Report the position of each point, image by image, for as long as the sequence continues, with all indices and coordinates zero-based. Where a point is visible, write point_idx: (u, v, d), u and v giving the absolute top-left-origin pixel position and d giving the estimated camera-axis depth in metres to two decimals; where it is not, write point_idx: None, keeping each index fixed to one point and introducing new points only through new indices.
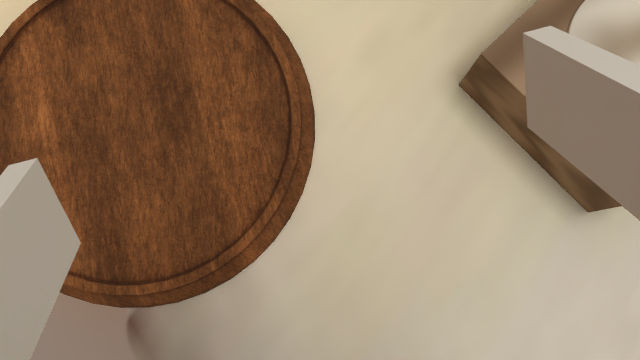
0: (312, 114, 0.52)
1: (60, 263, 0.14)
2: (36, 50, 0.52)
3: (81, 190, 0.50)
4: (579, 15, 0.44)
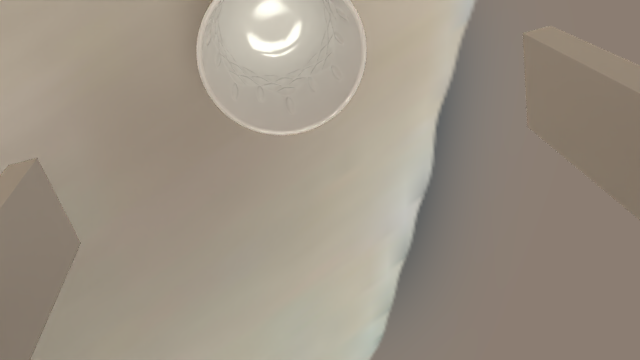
0: None
1: (60, 263, 0.14)
2: None
3: None
4: None
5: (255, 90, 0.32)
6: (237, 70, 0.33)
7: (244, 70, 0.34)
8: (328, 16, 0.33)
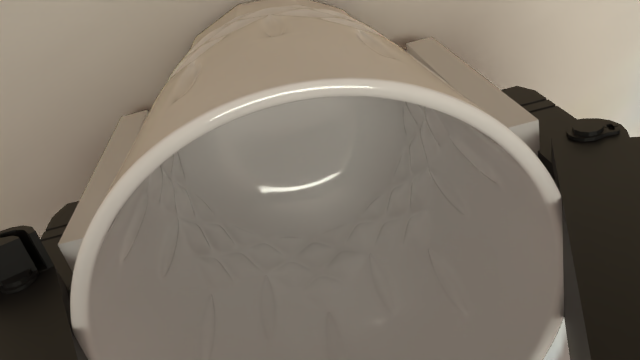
0: None
1: None
2: None
3: None
4: None
5: (257, 297, 0.14)
6: (218, 244, 0.15)
7: (234, 234, 0.16)
8: (413, 127, 0.15)
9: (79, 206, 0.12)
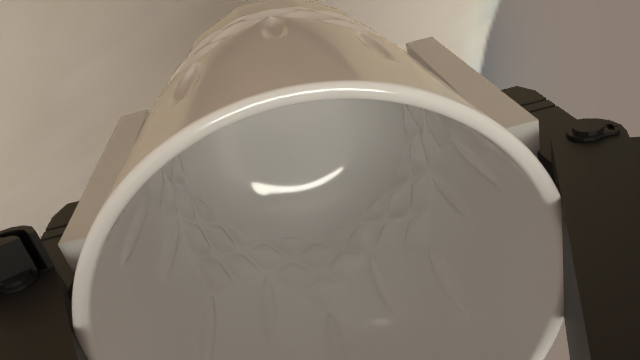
0: None
1: None
2: None
3: None
4: None
5: (257, 297, 0.14)
6: (218, 245, 0.15)
7: (234, 235, 0.16)
8: (414, 128, 0.15)
9: (79, 206, 0.12)
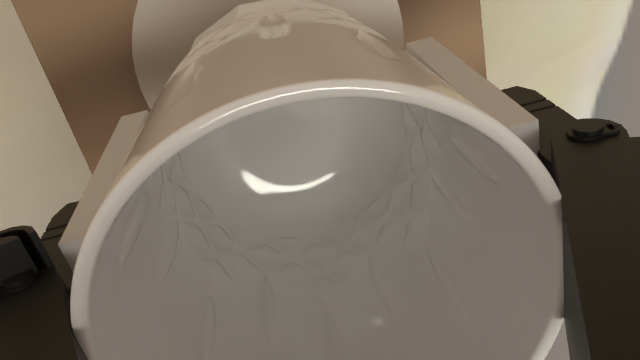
0: None
1: None
2: None
3: None
4: None
5: (257, 297, 0.14)
6: (218, 244, 0.15)
7: (234, 234, 0.16)
8: (414, 127, 0.15)
9: (80, 206, 0.12)
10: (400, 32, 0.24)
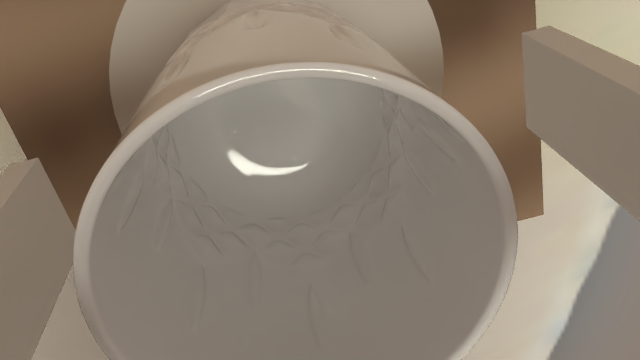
0: None
1: (61, 263, 0.14)
2: None
3: None
4: None
5: (245, 270, 0.16)
6: (209, 223, 0.16)
7: (225, 214, 0.17)
8: (390, 114, 0.16)
9: None
10: (439, 62, 0.19)
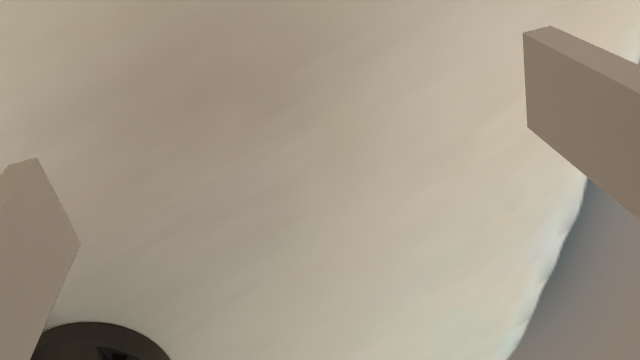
0: None
1: (60, 263, 0.14)
2: None
3: None
4: None
5: None
6: None
7: None
8: None
9: None
10: None
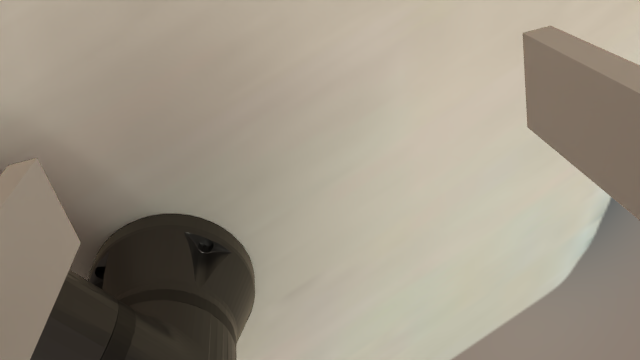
0: None
1: (60, 263, 0.14)
2: None
3: None
4: None
5: None
6: None
7: None
8: None
9: None
10: None
